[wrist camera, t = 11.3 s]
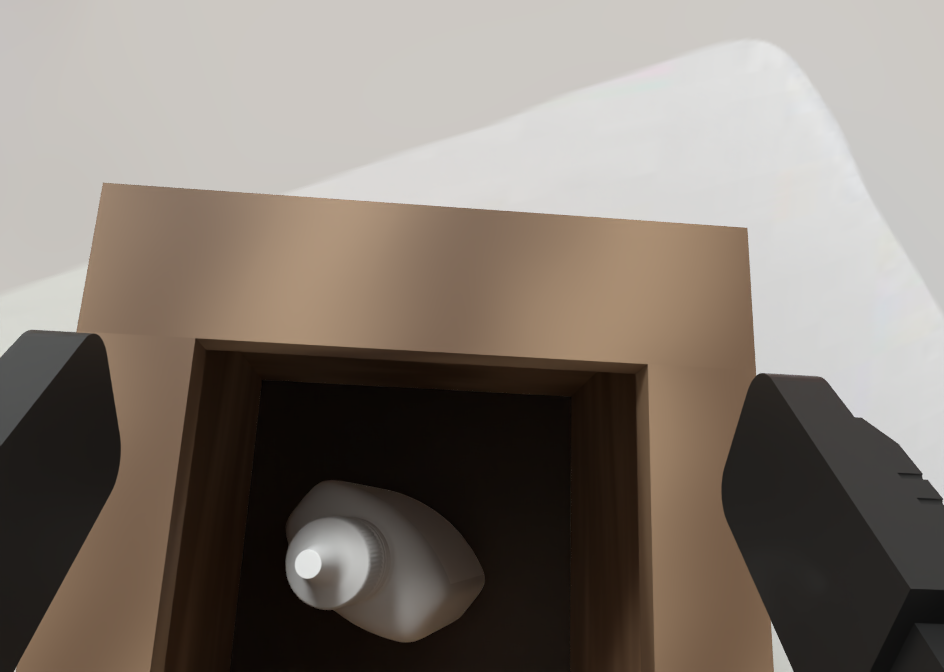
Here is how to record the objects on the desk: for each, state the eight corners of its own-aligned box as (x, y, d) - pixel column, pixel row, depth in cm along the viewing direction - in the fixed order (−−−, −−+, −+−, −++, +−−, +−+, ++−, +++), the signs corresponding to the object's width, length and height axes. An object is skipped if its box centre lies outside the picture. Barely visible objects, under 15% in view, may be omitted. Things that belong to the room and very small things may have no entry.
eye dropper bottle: (445, 465, 32) (351, 425, 21) (497, 603, 30) (428, 643, 19) (345, 507, 32) (199, 491, 21) (392, 646, 31) (261, 711, 19)
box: (193, 750, 29) (-36, 959, 14) (240, 355, 34) (103, 182, 18) (595, 759, 30) (790, 963, 15) (594, 374, 35) (747, 228, 19)
